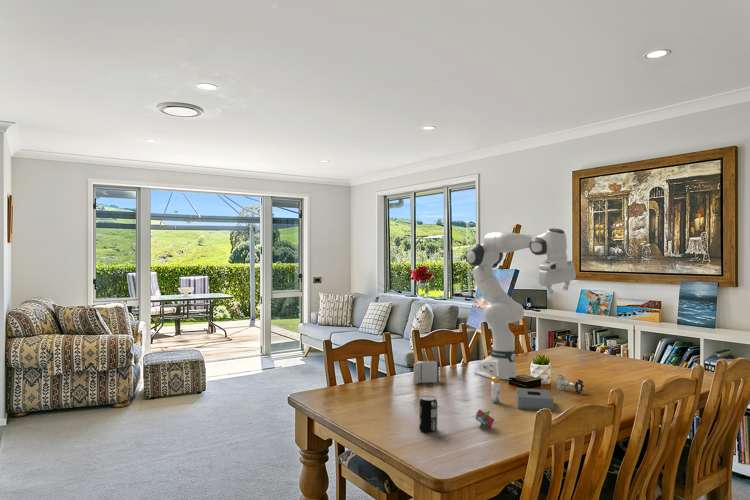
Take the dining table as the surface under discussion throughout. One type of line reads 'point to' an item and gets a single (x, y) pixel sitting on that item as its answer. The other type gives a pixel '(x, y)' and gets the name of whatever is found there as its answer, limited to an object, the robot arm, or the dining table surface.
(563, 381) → the valve
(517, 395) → the socket block
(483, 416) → the geometric puzzle
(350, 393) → the dining table surface
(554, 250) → the robot arm
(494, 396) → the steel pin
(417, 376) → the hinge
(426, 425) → the beverage can
